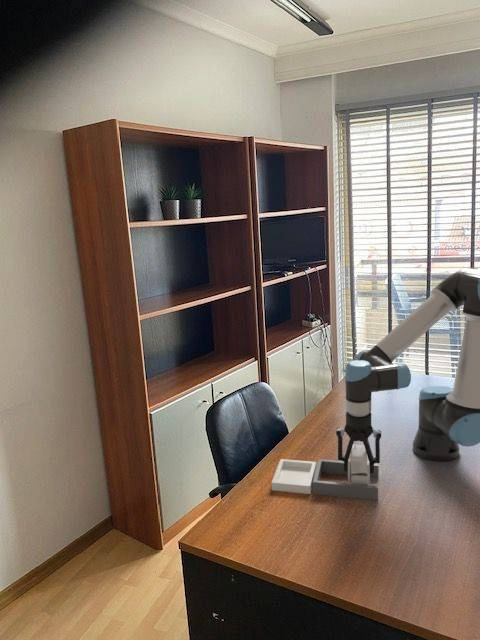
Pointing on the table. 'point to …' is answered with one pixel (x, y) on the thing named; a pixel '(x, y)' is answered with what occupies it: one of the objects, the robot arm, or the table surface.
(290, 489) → the tray
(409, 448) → the table surface
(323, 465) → the bay
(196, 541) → the table surface
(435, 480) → the table surface
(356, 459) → the ink box
